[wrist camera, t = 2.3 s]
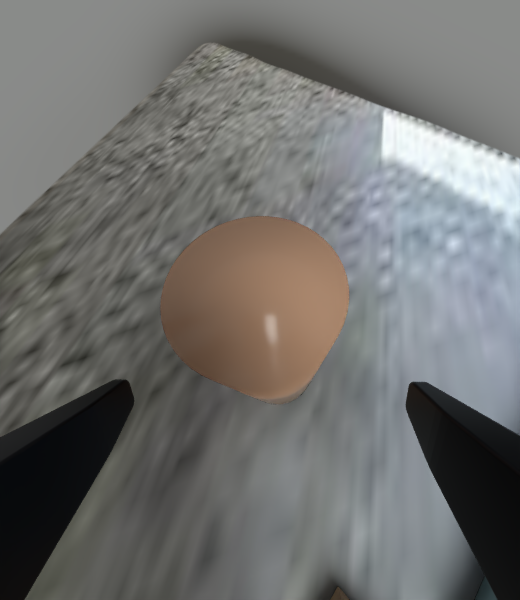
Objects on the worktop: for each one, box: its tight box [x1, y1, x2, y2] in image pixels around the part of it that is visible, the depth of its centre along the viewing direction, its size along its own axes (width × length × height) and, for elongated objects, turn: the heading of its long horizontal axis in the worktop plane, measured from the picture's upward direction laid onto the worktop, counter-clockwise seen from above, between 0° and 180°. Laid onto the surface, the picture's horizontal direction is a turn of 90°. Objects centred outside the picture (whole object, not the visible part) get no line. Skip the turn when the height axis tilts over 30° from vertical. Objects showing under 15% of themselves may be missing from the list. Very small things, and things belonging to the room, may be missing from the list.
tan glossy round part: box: [160, 216, 349, 405], centre depth 12 cm, size 5×5×12 cm
